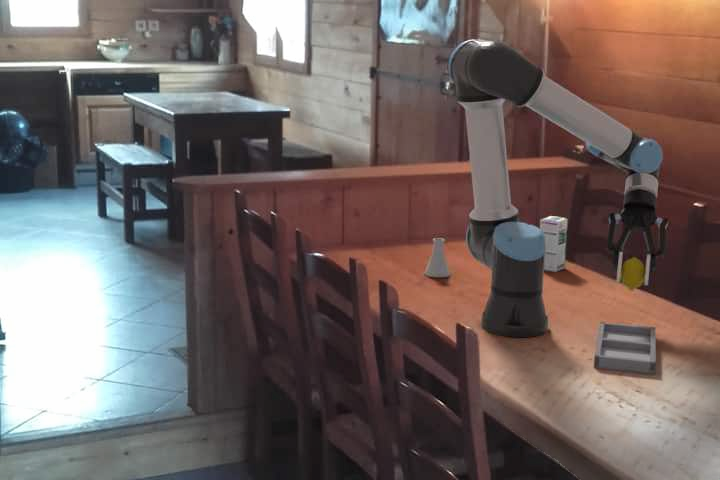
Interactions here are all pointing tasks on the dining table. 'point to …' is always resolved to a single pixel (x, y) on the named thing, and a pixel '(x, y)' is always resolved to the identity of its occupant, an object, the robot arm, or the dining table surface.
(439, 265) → the flask
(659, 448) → the dining table surface
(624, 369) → the grey divided tray
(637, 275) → the lemon
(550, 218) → the syrup box
